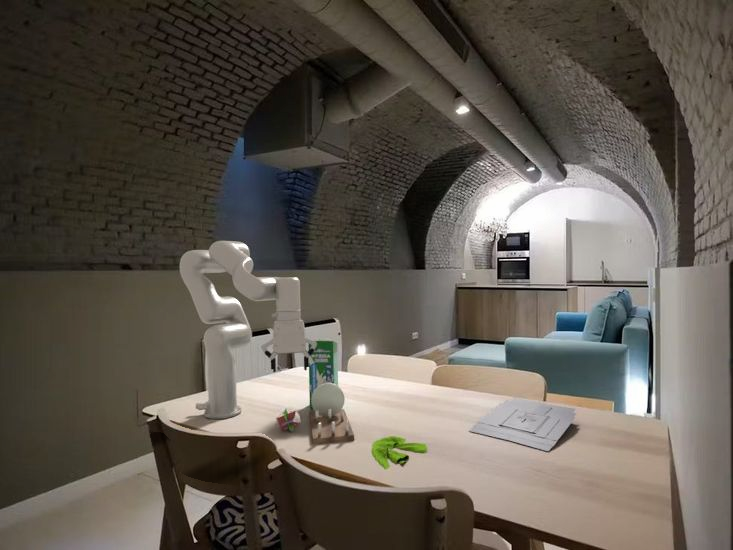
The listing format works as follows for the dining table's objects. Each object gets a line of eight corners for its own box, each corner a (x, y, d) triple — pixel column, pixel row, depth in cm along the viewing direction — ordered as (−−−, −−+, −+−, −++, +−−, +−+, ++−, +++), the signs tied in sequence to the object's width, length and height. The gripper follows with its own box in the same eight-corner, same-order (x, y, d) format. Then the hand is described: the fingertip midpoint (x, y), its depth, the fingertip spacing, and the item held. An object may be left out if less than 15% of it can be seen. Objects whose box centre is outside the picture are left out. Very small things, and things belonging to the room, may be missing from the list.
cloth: (390, 434, 133) (390, 427, 133) (454, 452, 119) (454, 444, 119) (345, 458, 117) (345, 449, 117) (413, 481, 103) (413, 471, 103)
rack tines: (318, 437, 126) (317, 423, 126) (313, 411, 150) (313, 399, 150) (348, 434, 128) (348, 421, 127) (339, 409, 151) (339, 398, 151)
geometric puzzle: (269, 427, 133) (284, 407, 133) (274, 420, 140) (288, 400, 140) (288, 441, 133) (302, 420, 133) (292, 433, 140) (306, 413, 139)
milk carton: (338, 402, 164) (337, 336, 164) (334, 410, 155) (333, 340, 155) (315, 402, 165) (313, 336, 165) (309, 409, 156) (308, 340, 156)
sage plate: (311, 418, 143) (311, 384, 143) (311, 417, 144) (310, 384, 144) (344, 415, 145) (344, 382, 144) (344, 414, 146) (343, 381, 146)
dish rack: (313, 443, 125) (313, 438, 125) (309, 415, 150) (309, 411, 150) (354, 440, 127) (354, 435, 127) (343, 412, 152) (343, 408, 152)
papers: (582, 418, 139) (582, 407, 138) (550, 461, 116) (549, 448, 116) (509, 403, 155) (508, 394, 154) (468, 439, 133) (467, 427, 132)
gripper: (259, 318, 131) (261, 375, 132) (317, 316, 135) (318, 371, 135) (261, 316, 139) (262, 369, 139) (315, 314, 142) (316, 366, 142)
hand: (290, 370), depth 137 cm, fingers open, 9 cm apart
